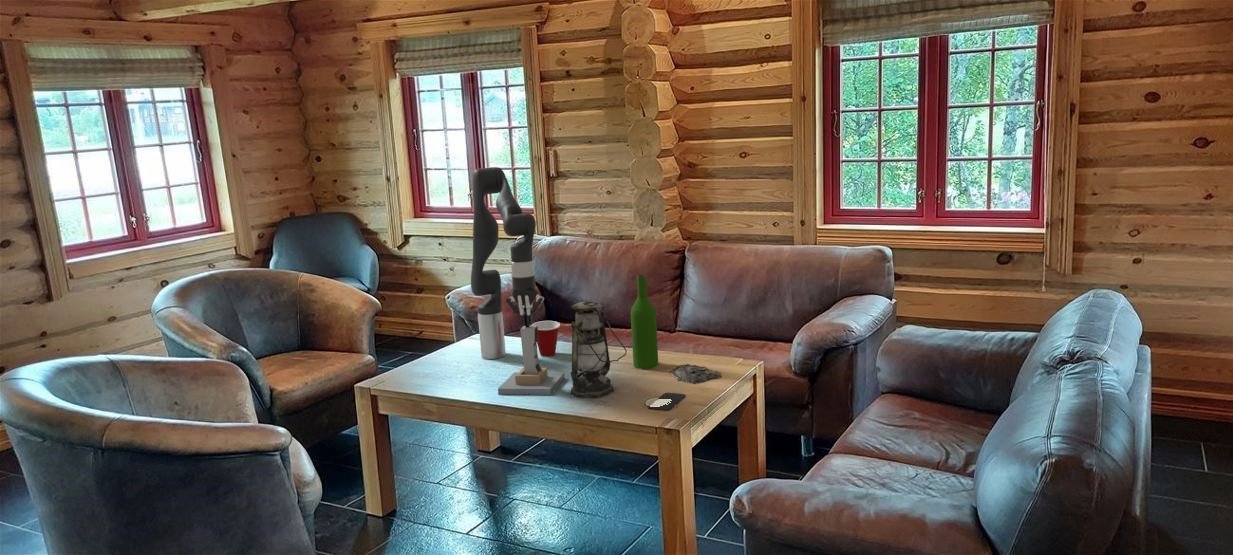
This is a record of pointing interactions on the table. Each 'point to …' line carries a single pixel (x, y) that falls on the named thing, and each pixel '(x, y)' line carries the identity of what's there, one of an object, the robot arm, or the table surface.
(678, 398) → the phone
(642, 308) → the wine bottle
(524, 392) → the square socket base
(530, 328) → the vintage mobile phone
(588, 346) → the lantern
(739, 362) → the table surface
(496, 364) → the table surface
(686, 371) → the geode
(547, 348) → the plastic cup
